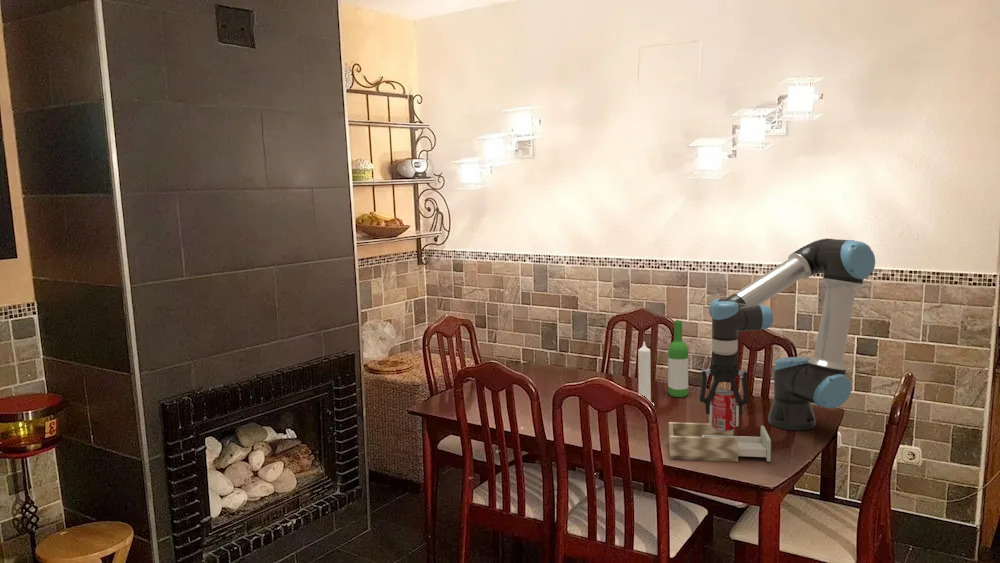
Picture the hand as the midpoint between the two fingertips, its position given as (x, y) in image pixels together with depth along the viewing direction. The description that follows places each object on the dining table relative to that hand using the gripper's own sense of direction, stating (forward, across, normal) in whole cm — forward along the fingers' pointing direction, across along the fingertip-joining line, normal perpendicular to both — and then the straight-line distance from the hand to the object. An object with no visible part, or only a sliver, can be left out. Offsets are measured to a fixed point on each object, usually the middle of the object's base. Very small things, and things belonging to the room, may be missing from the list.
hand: (723, 424), depth 220 cm
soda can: (+2, 0, 0) cm, 2 cm away
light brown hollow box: (+9, +6, 0) cm, 11 cm away
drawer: (+9, -3, 0) cm, 10 cm away
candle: (+9, +24, -46) cm, 53 cm away
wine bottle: (+9, +11, -61) cm, 62 cm away
